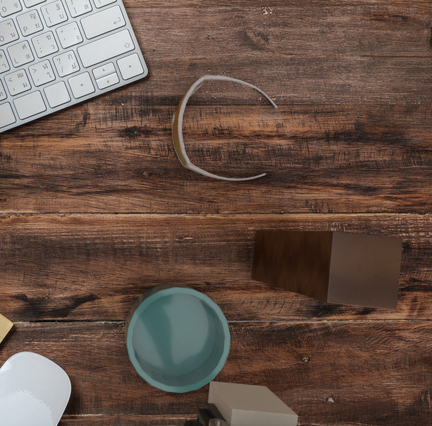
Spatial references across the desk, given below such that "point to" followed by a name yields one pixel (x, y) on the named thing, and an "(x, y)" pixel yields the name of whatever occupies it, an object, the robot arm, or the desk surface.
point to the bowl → (176, 338)
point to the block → (250, 405)
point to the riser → (331, 266)
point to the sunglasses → (179, 117)
